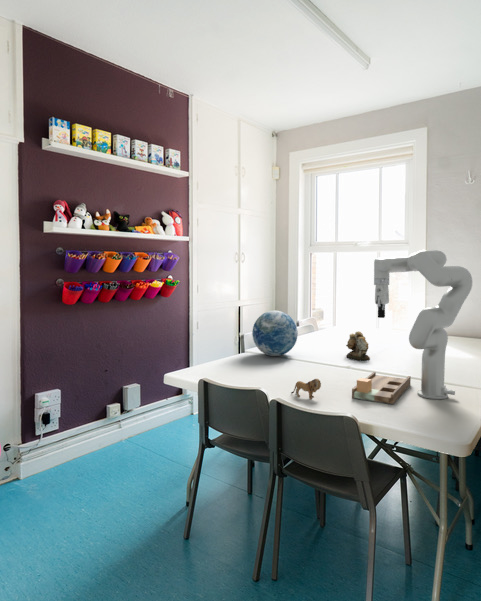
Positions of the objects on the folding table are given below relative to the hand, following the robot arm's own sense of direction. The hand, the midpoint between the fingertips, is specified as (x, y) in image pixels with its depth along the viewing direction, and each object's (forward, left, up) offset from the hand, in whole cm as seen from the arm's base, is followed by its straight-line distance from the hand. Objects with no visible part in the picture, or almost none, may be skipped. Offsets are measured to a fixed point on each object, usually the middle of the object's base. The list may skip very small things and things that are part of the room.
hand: (381, 317), depth 225 cm
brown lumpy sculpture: (+26, -42, -32) cm, 59 cm away
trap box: (-7, +23, -32) cm, 40 cm away
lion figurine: (+21, +47, -32) cm, 61 cm away
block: (-2, +35, -29) cm, 46 cm away
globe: (+75, -23, -32) cm, 85 cm away
